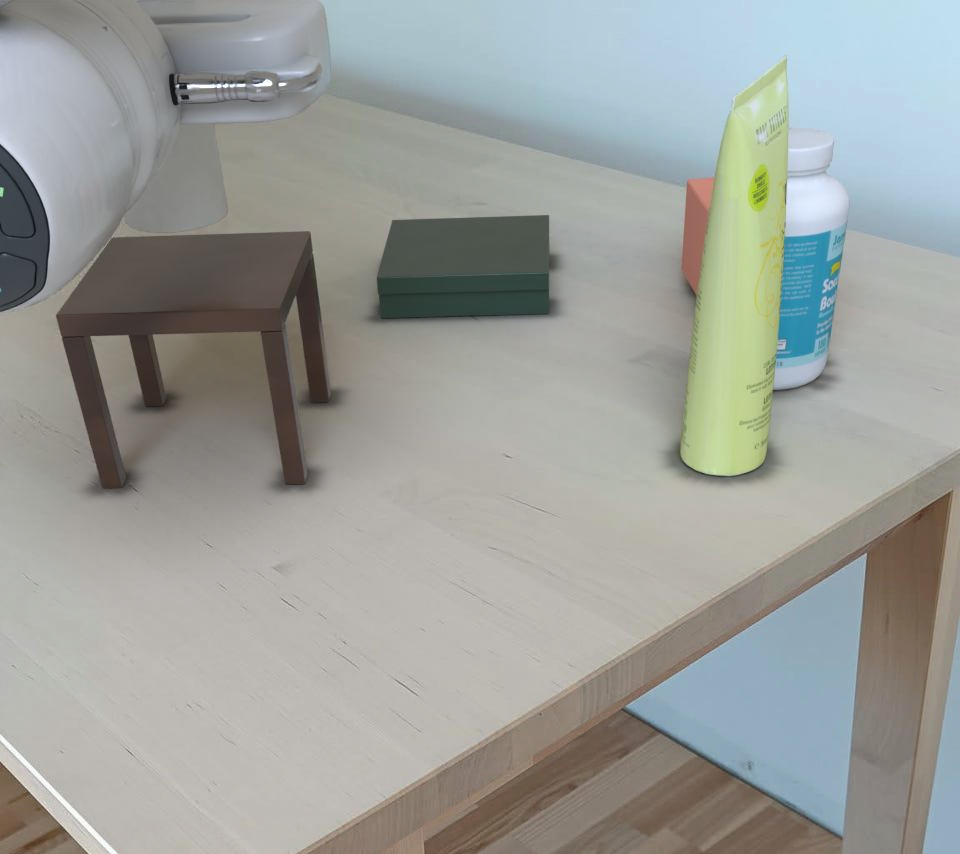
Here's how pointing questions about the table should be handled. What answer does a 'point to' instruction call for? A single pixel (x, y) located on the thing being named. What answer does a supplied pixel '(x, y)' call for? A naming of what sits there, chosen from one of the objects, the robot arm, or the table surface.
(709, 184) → the salmon pink upright block
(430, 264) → the green lidded gift box
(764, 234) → the tube
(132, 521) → the table surface
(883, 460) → the table surface
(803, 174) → the pill bottle
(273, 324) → the small brown table
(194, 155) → the bottle
